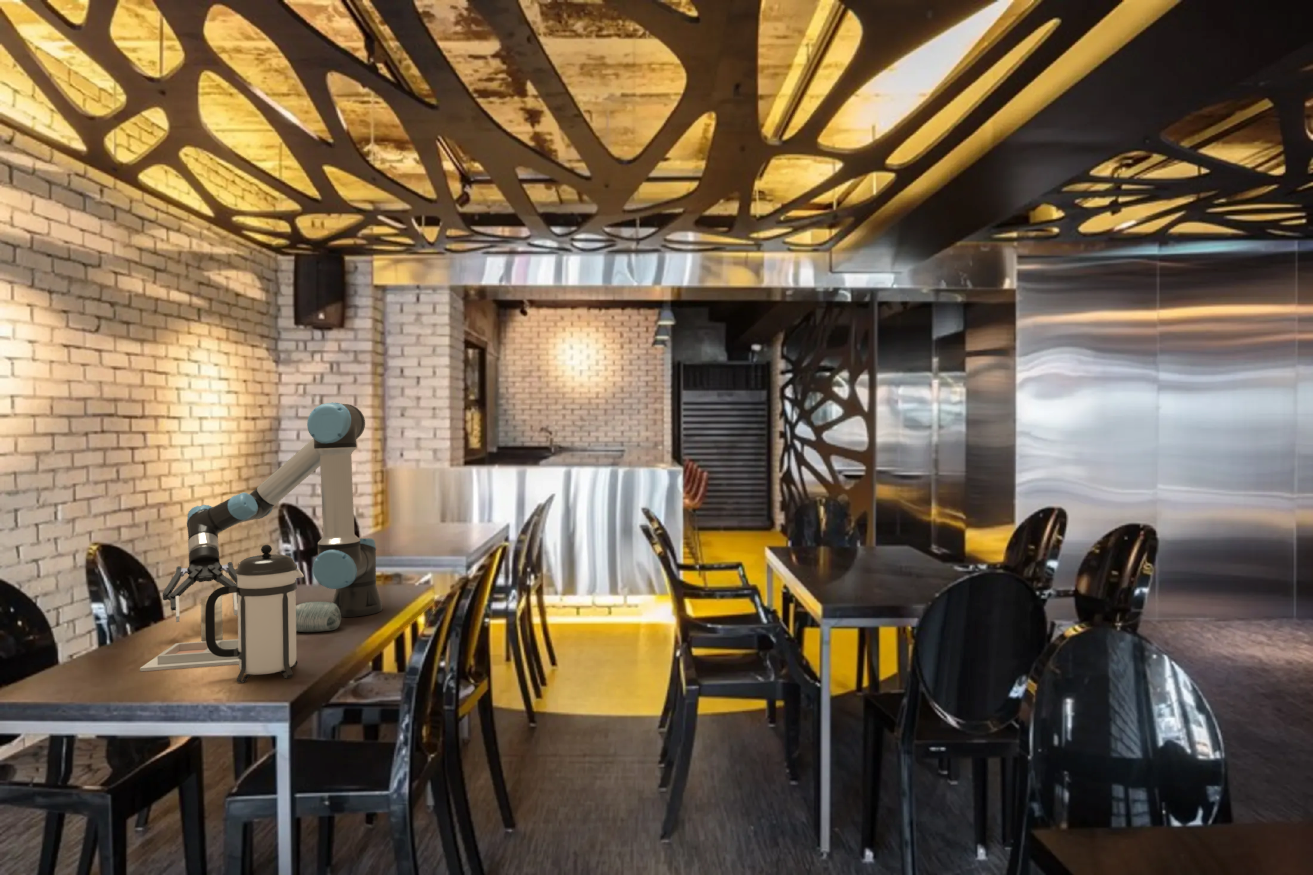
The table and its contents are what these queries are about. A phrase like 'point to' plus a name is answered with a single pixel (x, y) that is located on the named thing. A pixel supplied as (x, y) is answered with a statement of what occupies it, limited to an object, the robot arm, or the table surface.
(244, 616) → the coffee press
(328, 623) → the yarn ball
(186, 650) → the white flat tray
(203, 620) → the peg
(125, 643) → the table surface
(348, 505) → the robot arm
